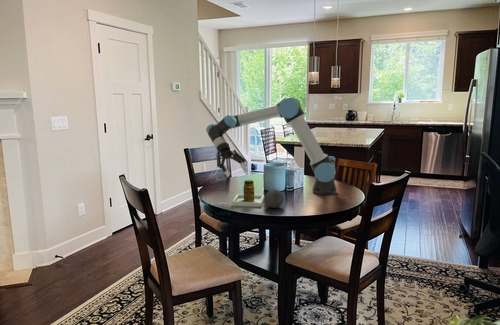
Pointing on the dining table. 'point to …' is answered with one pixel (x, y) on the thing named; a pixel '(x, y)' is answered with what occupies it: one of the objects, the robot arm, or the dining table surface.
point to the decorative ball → (274, 198)
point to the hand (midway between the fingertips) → (238, 173)
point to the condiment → (248, 191)
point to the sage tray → (248, 204)
